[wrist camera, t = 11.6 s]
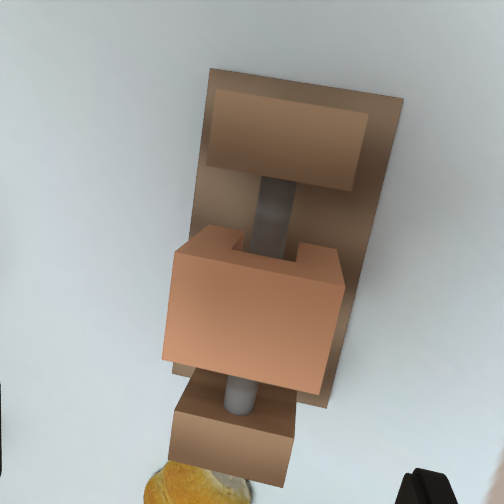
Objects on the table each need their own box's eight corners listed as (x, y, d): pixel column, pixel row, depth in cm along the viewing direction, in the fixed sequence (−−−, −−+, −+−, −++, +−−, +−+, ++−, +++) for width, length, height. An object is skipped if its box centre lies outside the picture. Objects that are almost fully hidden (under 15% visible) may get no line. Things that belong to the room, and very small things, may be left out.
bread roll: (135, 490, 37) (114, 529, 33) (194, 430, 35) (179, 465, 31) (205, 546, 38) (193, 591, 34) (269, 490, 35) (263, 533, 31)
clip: (209, 224, 23) (174, 252, 17) (336, 249, 22) (345, 286, 16) (197, 307, 24) (161, 359, 18) (316, 333, 23) (318, 395, 18)
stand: (214, 71, 27) (147, 22, 16) (399, 100, 26) (465, 69, 15) (176, 365, 33) (109, 476, 22) (326, 399, 32) (333, 533, 21)
